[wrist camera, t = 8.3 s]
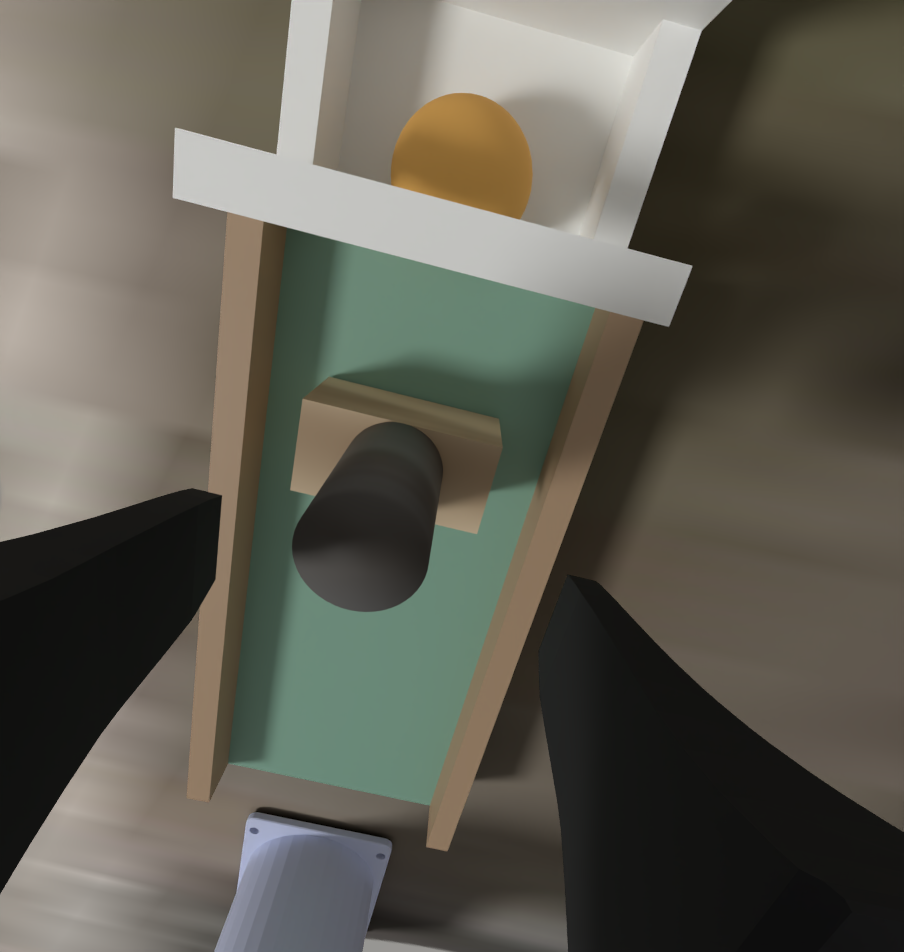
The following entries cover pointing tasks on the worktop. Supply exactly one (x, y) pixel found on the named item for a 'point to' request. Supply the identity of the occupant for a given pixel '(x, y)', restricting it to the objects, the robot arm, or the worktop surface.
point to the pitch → (420, 363)
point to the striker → (384, 489)
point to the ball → (465, 155)
